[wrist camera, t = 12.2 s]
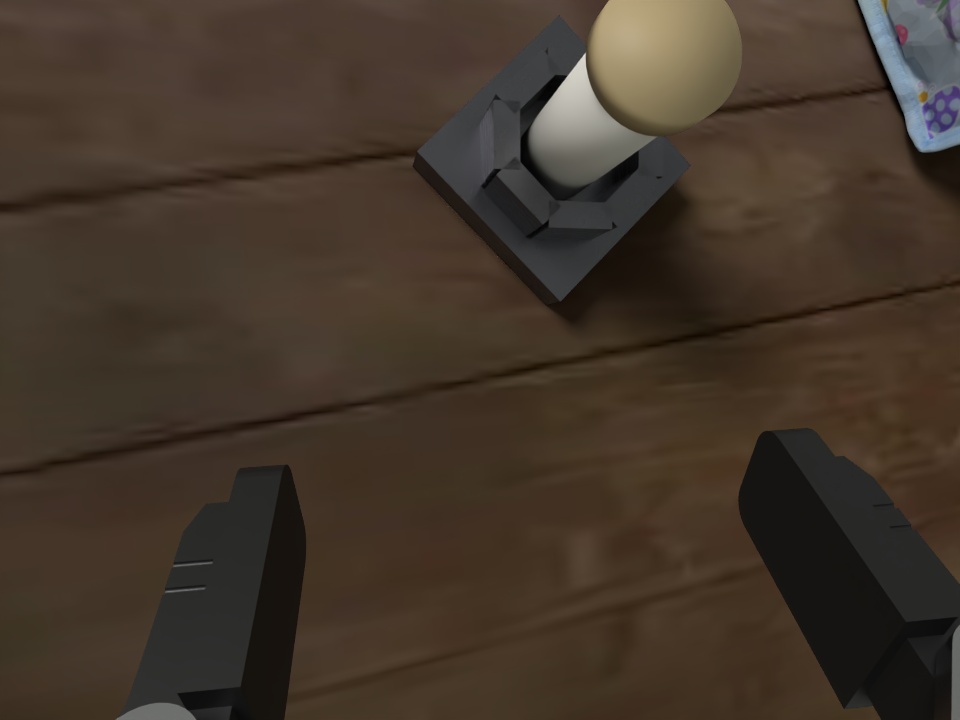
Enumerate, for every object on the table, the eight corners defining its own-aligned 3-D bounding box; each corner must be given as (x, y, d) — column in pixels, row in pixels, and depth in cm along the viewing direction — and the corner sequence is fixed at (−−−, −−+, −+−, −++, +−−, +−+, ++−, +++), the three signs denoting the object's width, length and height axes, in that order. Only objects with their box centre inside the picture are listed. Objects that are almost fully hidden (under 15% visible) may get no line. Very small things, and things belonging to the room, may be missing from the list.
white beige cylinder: (487, 156, 31) (568, 37, 19) (554, 90, 32) (672, -64, 20) (555, 228, 32) (672, 155, 20) (619, 163, 32) (770, 55, 21)
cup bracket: (412, 166, 33) (423, 130, 27) (544, 39, 34) (579, -20, 29) (545, 304, 34) (581, 296, 29) (667, 178, 36) (723, 147, 30)
